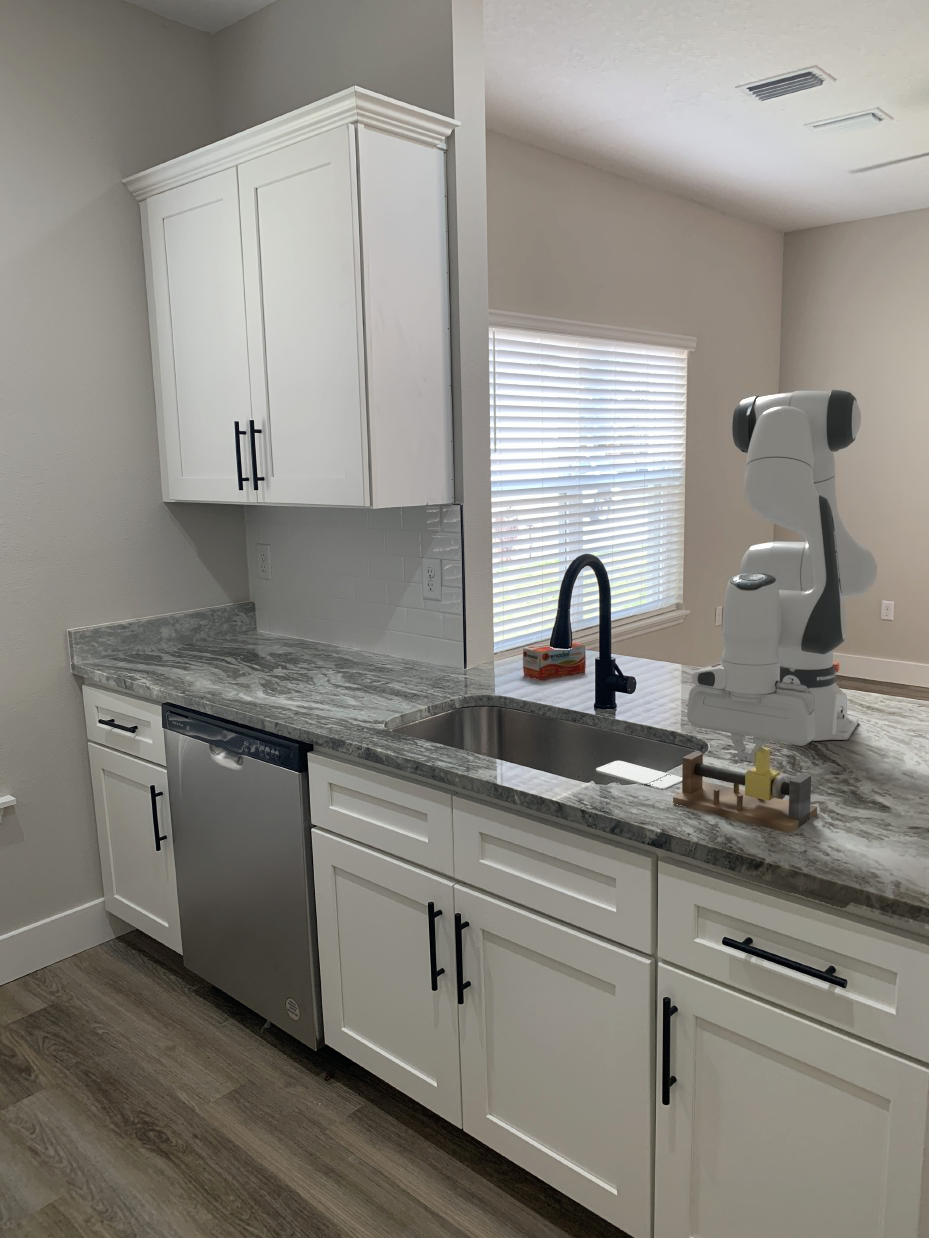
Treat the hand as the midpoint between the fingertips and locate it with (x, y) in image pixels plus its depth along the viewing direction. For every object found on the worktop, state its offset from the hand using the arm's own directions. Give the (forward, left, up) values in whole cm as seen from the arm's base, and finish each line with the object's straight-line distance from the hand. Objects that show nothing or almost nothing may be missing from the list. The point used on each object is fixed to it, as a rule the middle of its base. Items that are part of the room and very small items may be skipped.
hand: (748, 761), depth 150 cm
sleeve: (0, +2, -5) cm, 6 cm away
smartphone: (-4, -23, -9) cm, 24 cm away
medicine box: (-60, -83, -8) cm, 102 cm away
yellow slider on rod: (0, -1, -8) cm, 8 cm away
